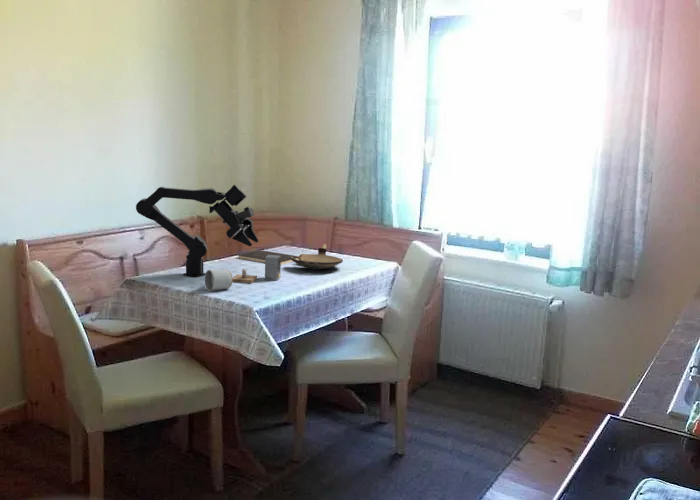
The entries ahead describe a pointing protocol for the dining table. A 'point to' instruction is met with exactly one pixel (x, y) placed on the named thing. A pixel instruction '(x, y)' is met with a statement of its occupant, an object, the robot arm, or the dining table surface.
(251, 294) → the dining table surface
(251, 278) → the post base
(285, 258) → the hardcover book
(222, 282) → the ceramic mug
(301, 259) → the oil lamp
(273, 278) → the grey cardboard box
